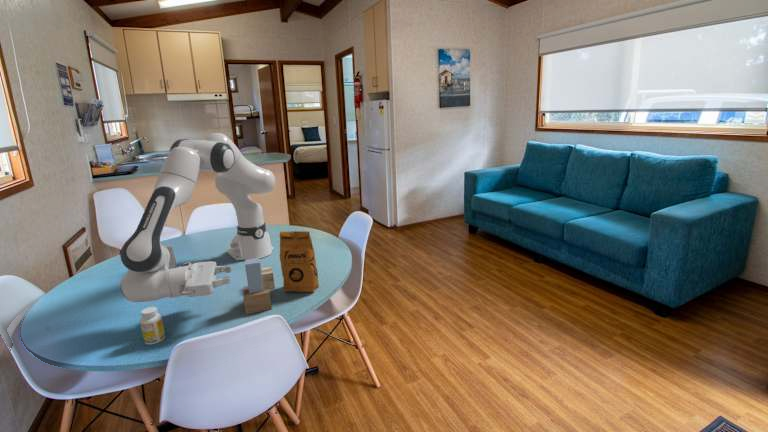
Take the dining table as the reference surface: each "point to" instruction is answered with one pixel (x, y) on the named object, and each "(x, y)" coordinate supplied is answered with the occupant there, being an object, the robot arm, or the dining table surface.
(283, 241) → the coffee package
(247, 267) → the slate block
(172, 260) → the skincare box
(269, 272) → the birch block
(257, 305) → the walnut block
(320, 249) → the dining table surface
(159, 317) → the supplement bottle
